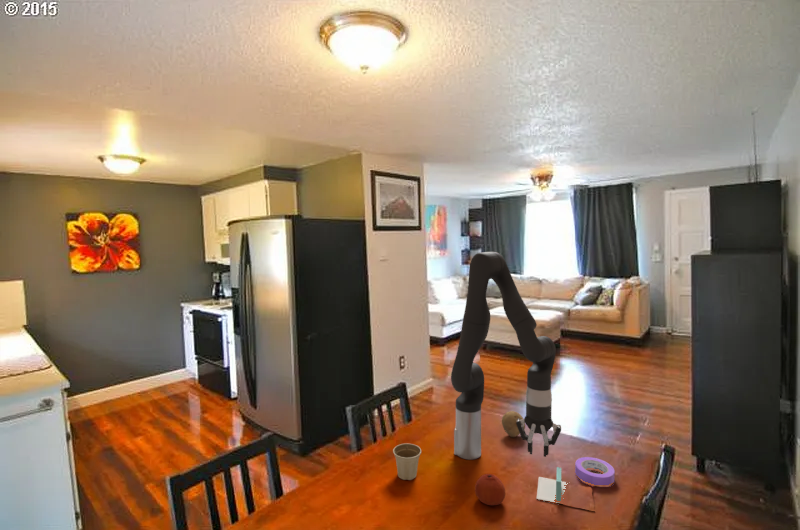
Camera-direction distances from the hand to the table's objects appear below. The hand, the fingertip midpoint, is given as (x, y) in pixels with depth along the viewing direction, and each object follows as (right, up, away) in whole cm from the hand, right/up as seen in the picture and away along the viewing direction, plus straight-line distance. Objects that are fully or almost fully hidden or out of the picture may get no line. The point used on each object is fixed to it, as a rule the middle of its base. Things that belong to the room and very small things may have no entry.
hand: (538, 454), depth 128 cm
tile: (+6, -11, -2) cm, 12 cm away
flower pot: (-41, -11, +9) cm, 43 cm away
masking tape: (+21, -11, +7) cm, 24 cm away
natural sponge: (+2, -9, +35) cm, 36 cm away
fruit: (-16, -12, -5) cm, 21 cm away
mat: (+8, -11, -2) cm, 14 cm away
